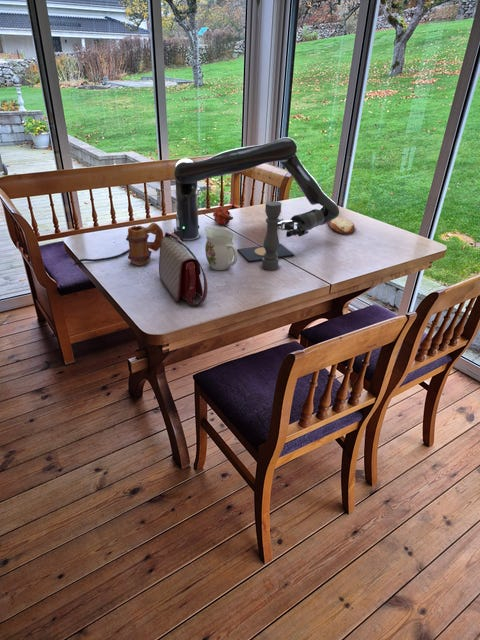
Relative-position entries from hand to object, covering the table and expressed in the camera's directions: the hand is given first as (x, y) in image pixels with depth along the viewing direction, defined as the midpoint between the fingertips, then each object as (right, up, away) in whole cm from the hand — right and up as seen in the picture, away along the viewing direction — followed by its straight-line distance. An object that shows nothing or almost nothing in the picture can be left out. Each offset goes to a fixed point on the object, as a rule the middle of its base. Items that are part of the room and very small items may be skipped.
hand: (278, 231), depth 172 cm
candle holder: (-3, -13, +4) cm, 14 cm away
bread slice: (+33, +11, +46) cm, 58 cm away
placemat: (-4, -6, +16) cm, 18 cm away
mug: (-51, -11, +7) cm, 53 cm away
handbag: (-34, -23, -14) cm, 44 cm away
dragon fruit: (-23, +13, +48) cm, 55 cm away
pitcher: (-22, -13, +3) cm, 26 cm away
